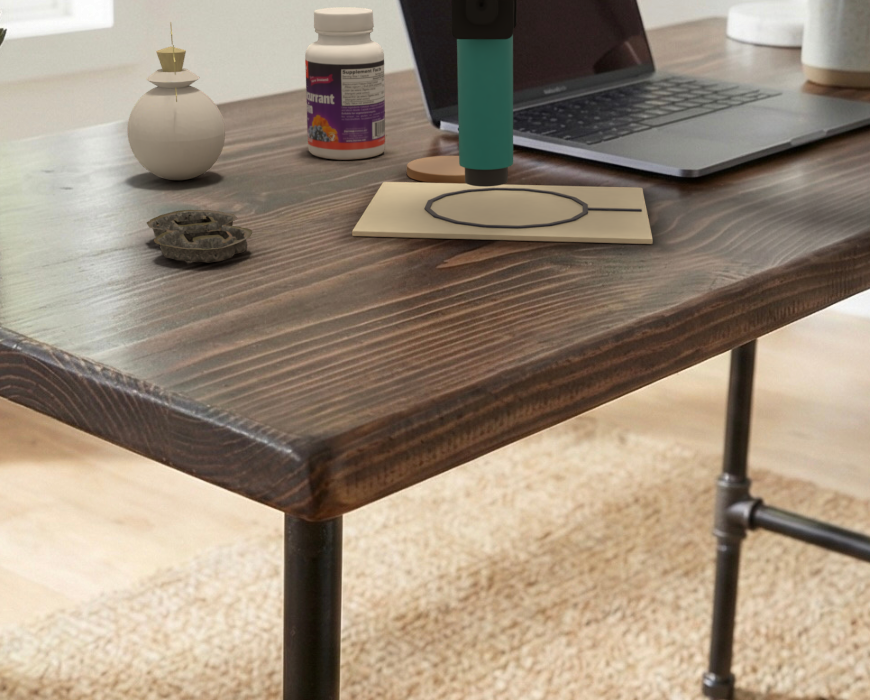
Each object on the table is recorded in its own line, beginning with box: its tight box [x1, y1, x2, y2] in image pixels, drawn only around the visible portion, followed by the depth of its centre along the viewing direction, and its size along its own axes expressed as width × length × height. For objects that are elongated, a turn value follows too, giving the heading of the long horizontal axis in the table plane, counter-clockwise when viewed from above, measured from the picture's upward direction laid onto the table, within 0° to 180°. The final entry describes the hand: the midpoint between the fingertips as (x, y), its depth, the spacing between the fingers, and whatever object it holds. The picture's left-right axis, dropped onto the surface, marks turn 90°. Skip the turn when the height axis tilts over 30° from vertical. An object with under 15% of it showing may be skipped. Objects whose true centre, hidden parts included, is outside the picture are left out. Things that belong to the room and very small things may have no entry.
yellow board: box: [351, 181, 654, 245], centre depth 75 cm, size 16×12×1 cm
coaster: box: [406, 155, 466, 184], centre depth 84 cm, size 6×6×1 cm
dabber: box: [456, 34, 514, 187], centre depth 70 cm, size 3×3×13 cm
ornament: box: [127, 21, 226, 181], centre depth 81 cm, size 6×7×10 cm
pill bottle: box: [304, 6, 386, 161], centre depth 89 cm, size 5×5×10 cm
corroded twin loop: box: [146, 209, 253, 264], centre depth 67 cm, size 5×8×1 cm, turn 21°
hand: (485, 30), depth 70 cm, fingers closed on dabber, 3 cm apart
